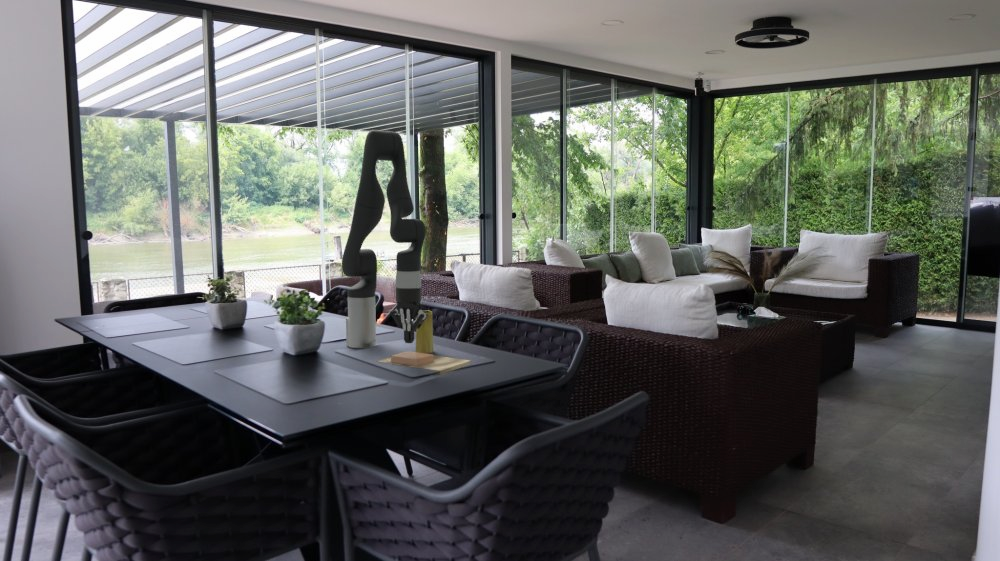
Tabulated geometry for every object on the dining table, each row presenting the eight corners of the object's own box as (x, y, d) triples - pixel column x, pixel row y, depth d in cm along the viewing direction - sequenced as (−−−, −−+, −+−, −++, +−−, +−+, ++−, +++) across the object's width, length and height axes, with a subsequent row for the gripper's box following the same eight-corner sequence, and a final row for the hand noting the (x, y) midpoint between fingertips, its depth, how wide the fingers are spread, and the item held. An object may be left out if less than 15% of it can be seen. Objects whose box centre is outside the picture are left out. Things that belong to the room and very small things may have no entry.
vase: (424, 358, 231) (424, 313, 229) (410, 355, 235) (410, 311, 233) (437, 355, 236) (437, 311, 234) (423, 352, 239) (423, 309, 238)
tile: (390, 355, 219) (417, 359, 214) (407, 351, 226) (433, 354, 220) (390, 362, 219) (417, 366, 214) (407, 357, 226) (433, 361, 221)
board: (375, 365, 221) (375, 361, 221) (408, 355, 235) (408, 352, 234) (440, 374, 209) (440, 370, 208) (470, 364, 222) (470, 360, 222)
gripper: (383, 285, 218) (384, 342, 220) (418, 288, 211) (419, 347, 213) (399, 283, 224) (399, 338, 226) (433, 285, 218) (434, 342, 220)
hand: (409, 342), depth 220 cm, fingers closed
